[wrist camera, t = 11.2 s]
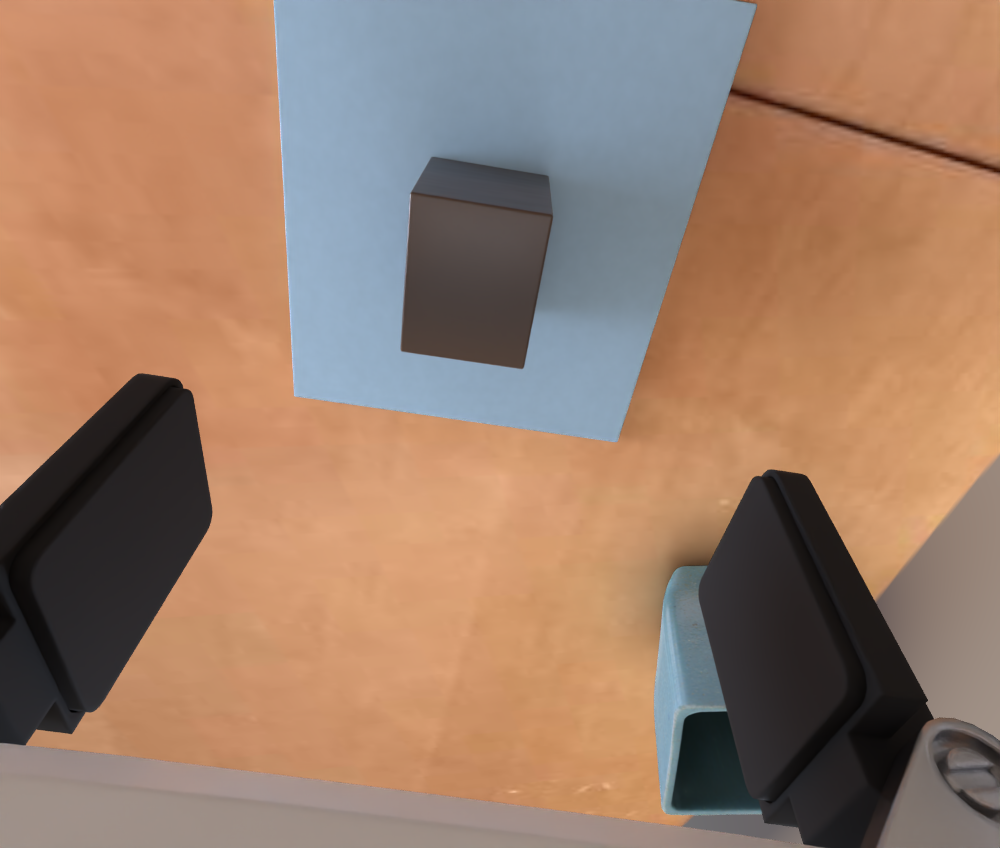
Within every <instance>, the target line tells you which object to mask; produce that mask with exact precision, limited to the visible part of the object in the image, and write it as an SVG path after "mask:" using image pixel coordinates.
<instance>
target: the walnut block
mask: <svg viewBox="0 0 1000 848" xmlns="http://www.w3.org/2000/svg"><path fill="white" fill-rule="evenodd" d="M552 221H553V210H552V201H551V191H550V182H549V176H547V175H541V174H535V173H529V172H523V171H517V170H510V169H504V168H498V167H492V166H486V165H480V164H474V163H468V162H462V161H456V160H449V159H443V158H437V157H431V158H430V160H429V162H428V163H427V165H426V167H425V169H424V170H423V172H422V174H421V175H420V177H419V179H418V181H417V182H416V184H415V186H414V187H413V189H412V191H411V193H410V197H409V214H408V230H407V247H406V263H405V280H404V296H403V313H402V329H401V345H400V350H401V351H402V352H407V353H414V354H421V355H428V356H435V357H441V358H448V359H455V360H462V361H469V362H475V363H482V364H489V365H496V366H503V367H509V368H516V369H523V368H524V365H525V360H526V355H527V350H528V345H529V340H530V334H531V329H532V324H533V319H534V314H535V309H536V304H537V298H538V293H539V288H540V283H541V278H542V273H543V268H544V262H545V257H546V252H547V247H548V242H549V237H550V232H551V226H552Z"/></svg>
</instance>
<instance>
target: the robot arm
mask: <svg viewBox="0 0 1000 848" xmlns="http://www.w3.org/2000/svg"><path fill="white" fill-rule="evenodd" d="M211 519H212V504H211V498H210V493H209V487H208V481H207V475H206V469H205V463H204V457H203V451H202V445H201V440H200V434H199V428H198V422H197V416H196V410H195V404H194V398H193V395H192V393H191V391H190V390H188V389H183V385H182V383H181V382H180V381H179V380H178V379H176V378H169V377H163V376H156V375H149V374H143V373H142V374H137V375H135V376H134V377H133V378H132V379H131V380H130V381H128V382H127V383H126V384H125V385H124V386H123V387H122V388H121V389H120V390H119V391H118V392H117V393H116V394H115V395H114V396H113V397H112V398H111V399H110V400H109V401H108V402H107V403H106V404H105V405H104V406H103V407H102V408H101V409H100V410H98V411H97V412H96V413H95V414H94V415H93V416H92V417H91V418H90V419H89V420H88V421H87V422H86V423H85V424H84V425H83V426H82V427H81V428H80V429H79V430H78V431H77V432H76V433H75V434H74V435H73V436H72V437H71V438H70V439H68V440H67V441H66V442H65V443H64V444H63V445H62V446H61V447H60V448H59V449H58V450H57V451H56V452H55V453H54V454H53V455H52V456H51V457H50V458H49V459H48V460H47V461H46V462H45V463H44V464H43V465H42V466H41V467H39V468H38V469H37V470H36V471H35V472H34V473H33V474H32V475H31V476H30V477H29V478H28V479H27V480H26V481H25V482H24V483H23V484H22V485H21V486H20V487H19V488H18V489H17V490H16V491H15V492H14V493H13V494H12V495H11V496H9V497H8V498H7V499H6V500H5V501H4V502H3V503H2V504H1V505H0V848H1000V741H999V740H998V739H996V738H995V737H994V736H993V735H991V734H989V733H987V732H986V731H984V730H982V729H980V728H978V727H976V726H975V725H973V724H970V723H967V722H964V721H961V720H958V719H954V718H937V719H934V718H933V716H932V714H931V712H930V711H929V709H928V707H927V705H926V702H927V701H928V699H927V698H926V696H925V694H924V692H923V690H922V688H921V686H920V684H919V683H918V681H917V679H916V677H915V675H914V673H913V672H912V670H911V668H910V666H909V664H908V662H907V660H906V658H905V657H904V655H903V653H902V651H901V649H900V647H899V645H898V643H897V642H896V640H895V638H894V636H893V634H892V632H891V630H890V629H889V627H888V625H887V623H886V621H885V619H884V617H883V616H882V614H881V612H880V610H879V608H878V606H877V604H876V603H875V601H874V599H873V597H872V595H871V593H870V591H869V590H868V588H867V586H866V584H865V582H864V580H863V578H862V576H861V575H860V573H859V571H858V569H857V567H856V565H855V563H854V562H853V560H852V558H851V556H850V554H849V552H848V550H847V549H846V547H845V545H844V543H843V541H842V539H841V537H840V536H839V534H838V532H837V530H836V528H835V526H834V524H833V523H832V521H831V519H830V517H829V515H828V513H827V511H826V509H825V508H824V506H823V504H822V502H821V500H820V498H819V496H818V495H817V493H816V491H815V489H814V487H813V485H812V483H811V482H810V480H809V479H808V477H807V476H805V475H803V474H798V473H792V472H785V471H779V470H772V469H771V470H767V471H766V472H765V473H764V474H763V475H762V477H761V476H756V477H754V478H753V479H752V480H751V482H750V484H749V486H748V488H747V490H746V492H745V494H744V496H743V498H742V500H741V502H740V503H739V505H738V507H737V509H736V511H735V513H734V515H733V517H732V519H731V521H730V523H729V525H728V527H727V529H726V531H725V533H724V535H723V537H722V539H721V541H720V543H719V545H718V547H717V549H716V551H715V553H714V555H713V557H712V559H711V560H710V562H709V564H708V566H707V568H706V570H705V572H704V574H703V576H702V578H701V581H700V584H699V591H698V596H699V603H700V607H701V611H702V615H703V619H704V623H705V627H706V630H707V634H708V638H709V642H710V646H711V650H712V654H713V658H714V662H715V666H716V670H717V674H718V678H719V682H720V686H721V690H722V694H723V697H724V701H725V705H726V709H727V713H728V717H729V721H730V725H731V729H732V733H733V737H734V741H735V745H736V749H737V753H738V757H739V761H740V765H741V768H742V772H743V776H744V780H745V784H746V787H747V790H748V792H749V794H750V796H751V797H752V798H753V799H758V800H759V804H760V808H761V811H762V815H763V819H764V823H768V824H776V825H783V826H792V827H798V828H799V831H800V834H801V838H802V841H803V844H804V845H803V844H796V843H790V842H783V841H776V840H770V839H763V838H757V837H750V836H744V835H737V834H730V833H724V832H717V831H709V830H701V829H694V828H687V827H679V826H672V825H664V824H657V823H649V822H642V821H634V820H627V819H619V818H612V817H604V816H597V815H589V814H582V813H574V812H567V811H559V810H552V809H544V808H536V807H529V806H521V805H513V804H505V803H498V802H490V801H482V800H474V799H466V798H459V797H451V796H443V795H435V794H427V793H420V792H412V791H404V790H396V789H388V788H380V787H372V786H364V785H357V784H349V783H341V782H333V781H325V780H317V779H309V778H301V777H293V776H285V775H276V774H268V773H260V772H252V771H244V770H236V769H228V768H219V767H211V766H203V765H195V764H187V763H179V762H170V761H162V760H154V759H146V758H138V757H130V756H120V755H111V754H101V753H92V752H82V751H73V750H63V749H54V748H44V747H35V746H25V745H26V743H27V742H28V740H29V739H30V737H31V736H32V734H33V733H34V732H35V730H36V729H37V730H45V731H53V732H61V733H68V734H72V733H73V732H74V730H75V728H76V727H77V725H78V724H79V722H80V720H81V719H82V717H83V716H84V714H85V712H93V711H95V710H96V709H97V708H98V707H99V706H100V705H101V704H102V702H103V701H104V699H105V698H106V696H107V695H108V693H109V691H110V690H111V688H112V686H113V685H114V683H115V681H116V680H117V678H118V676H119V675H120V673H121V672H122V670H123V668H124V667H125V665H126V663H127V662H128V660H129V658H130V657H131V655H132V654H133V652H134V650H135V649H136V647H137V645H138V644H139V642H140V640H141V639H142V637H143V635H144V634H145V632H146V631H147V629H148V627H149V626H150V624H151V622H152V621H153V619H154V617H155V616H156V614H157V613H158V611H159V609H160V608H161V606H162V604H163V603H164V601H165V599H166V598H167V596H168V594H169V593H170V591H171V590H172V588H173V586H174V585H175V583H176V581H177V580H178V578H179V576H180V575H181V573H182V572H183V570H184V568H185V567H186V565H187V563H188V562H189V560H190V558H191V557H192V555H193V553H194V552H195V550H196V549H197V547H198V545H199V544H200V542H201V540H202V539H203V537H204V535H205V534H206V532H207V530H208V528H209V526H210V523H211Z"/></svg>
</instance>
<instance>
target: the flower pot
mask: <svg viewBox="0 0 1000 848" xmlns="http://www.w3.org/2000/svg"><path fill="white" fill-rule="evenodd" d="M706 568H707V566H683V567H679V568H677V569H676V570H675V571H674V573H673V575H672V577H671V579H670V581H669V583H668V585H667V588H666V592H665V596H664V601H663V609H662V622H661V632H660V642H659V652H658V661H657V671H656V678H655V690H654V717H655V731H656V743H657V757H658V770H659V782H660V793H661V806H662V809H663V811H664V812H665V813H666V814H671V815H699V816H700V815H717V814H720V815H722V814H726V815H728V814H762V811H761V808H760V804H759V800H758V799H753V798H752V797H751V796H750V794H749V792H748V790H747V787H746V784H745V780H744V776H743V772H742V768H741V765H740V761H739V757H738V753H737V749H736V745H735V741H734V737H733V733H732V729H731V725H730V721H729V717H728V713H727V709H726V705H725V701H724V697H723V694H722V690H721V686H720V682H719V678H718V674H717V670H716V666H715V662H714V658H713V654H712V650H711V646H710V642H709V638H708V634H707V630H706V627H705V623H704V619H703V615H702V611H701V607H700V603H699V596H698V591H699V584H700V581H701V578H702V576H703V574H704V572H705V570H706Z"/></svg>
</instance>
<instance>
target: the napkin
mask: <svg viewBox="0 0 1000 848" xmlns="http://www.w3.org/2000/svg"><path fill="white" fill-rule="evenodd" d="M756 8H757V4H754V3H749V2H743V1H738V0H274V15H275V34H276V53H277V73H278V92H279V111H280V130H281V149H282V169H283V188H284V207H285V226H286V246H287V265H288V284H289V303H290V323H291V342H292V361H293V380H294V396H296V397H303V398H310V399H317V400H324V401H331V402H338V403H345V404H352V405H359V406H366V407H373V408H380V409H387V410H394V411H401V412H408V413H415V414H422V415H429V416H436V417H443V418H450V419H457V420H464V421H471V422H478V423H485V424H492V425H499V426H506V427H513V428H520V429H527V430H534V431H541V432H548V433H555V434H562V435H569V436H576V437H583V438H590V439H597V440H604V441H611V442H617V441H618V438H619V435H620V432H621V429H622V426H623V423H624V420H625V416H626V413H627V410H628V407H629V404H630V401H631V398H632V395H633V391H634V388H635V385H636V382H637V379H638V376H639V373H640V370H641V367H642V363H643V360H644V357H645V354H646V351H647V348H648V345H649V342H650V338H651V335H652V332H653V329H654V326H655V323H656V320H657V317H658V314H659V310H660V307H661V304H662V301H663V298H664V295H665V292H666V289H667V285H668V282H669V279H670V276H671V273H672V270H673V267H674V264H675V261H676V257H677V254H678V251H679V248H680V245H681V242H682V239H683V236H684V232H685V229H686V226H687V223H688V220H689V217H690V214H691V211H692V208H693V204H694V201H695V198H696V195H697V192H698V189H699V186H700V183H701V179H702V176H703V173H704V170H705V167H706V164H707V161H708V158H709V155H710V151H711V148H712V145H713V142H714V139H715V136H716V133H717V130H718V126H719V123H720V120H721V117H722V114H723V111H724V108H725V105H726V102H727V98H728V95H729V92H730V89H731V86H732V83H733V80H734V77H735V73H736V70H737V67H738V64H739V61H740V58H741V55H742V52H743V49H744V45H745V42H746V39H747V36H748V33H749V30H750V27H751V24H752V20H753V17H754V14H755V11H756ZM431 157H437V158H443V159H449V160H456V161H462V162H468V163H474V164H480V165H486V166H492V167H498V168H504V169H510V170H517V171H523V172H529V173H535V174H541V175H547V176H549V182H550V191H551V201H552V210H553V221H552V226H551V232H550V237H549V242H548V247H547V252H546V257H545V262H544V268H543V273H542V278H541V283H540V288H539V293H538V298H537V304H536V309H535V314H534V319H533V324H532V329H531V334H530V340H529V345H528V350H527V355H526V360H525V365H524V368H523V369H516V368H509V367H503V366H496V365H489V364H482V363H475V362H469V361H462V360H455V359H448V358H441V357H435V356H428V355H421V354H414V353H407V352H402V351H401V350H400V345H401V329H402V313H403V296H404V280H405V263H406V247H407V230H408V214H409V197H410V193H411V191H412V189H413V187H414V186H415V184H416V182H417V181H418V179H419V177H420V175H421V174H422V172H423V170H424V169H425V167H426V165H427V163H428V162H429V160H430V158H431Z"/></svg>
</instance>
